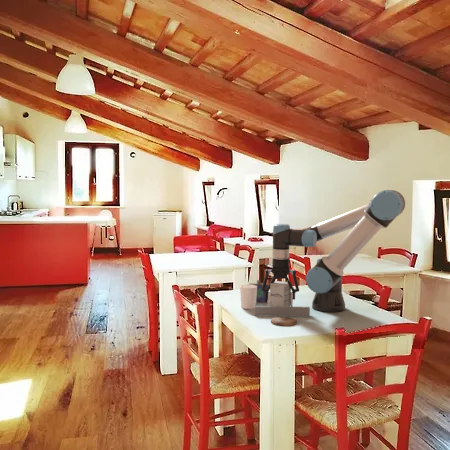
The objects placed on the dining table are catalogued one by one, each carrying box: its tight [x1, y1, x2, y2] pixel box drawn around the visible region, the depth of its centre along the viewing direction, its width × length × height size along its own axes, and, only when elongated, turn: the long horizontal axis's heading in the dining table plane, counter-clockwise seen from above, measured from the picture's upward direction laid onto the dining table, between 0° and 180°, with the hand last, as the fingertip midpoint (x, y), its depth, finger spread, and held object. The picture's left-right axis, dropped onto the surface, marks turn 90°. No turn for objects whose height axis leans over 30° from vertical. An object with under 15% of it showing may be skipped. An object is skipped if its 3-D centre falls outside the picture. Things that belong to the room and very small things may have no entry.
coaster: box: [270, 316, 298, 327], centre depth 208 cm, size 11×11×1 cm
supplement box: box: [269, 280, 292, 307], centre depth 228 cm, size 7×7×13 cm
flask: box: [248, 279, 269, 304], centre depth 243 cm, size 9×3×11 cm, turn 79°
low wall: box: [253, 305, 311, 318], centre depth 218 cm, size 24×2×4 cm, turn 88°
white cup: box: [239, 284, 257, 310], centre depth 232 cm, size 8×8×10 cm
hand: (280, 306), depth 228 cm, fingers closed on supplement box, 10 cm apart
